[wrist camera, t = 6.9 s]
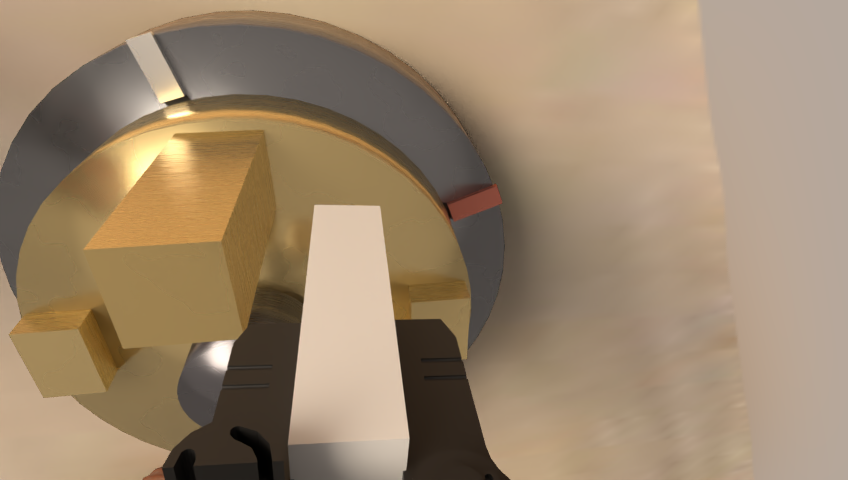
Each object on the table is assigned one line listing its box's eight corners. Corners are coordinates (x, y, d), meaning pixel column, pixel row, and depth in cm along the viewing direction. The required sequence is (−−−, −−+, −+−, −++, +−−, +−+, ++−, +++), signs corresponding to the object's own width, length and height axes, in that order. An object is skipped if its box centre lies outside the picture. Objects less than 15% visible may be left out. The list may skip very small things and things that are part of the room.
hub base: (531, 315, 28) (602, 465, 20) (207, 432, 29) (158, 613, 22) (401, -84, 18) (443, -84, 10) (-86, 127, 19) (-373, 266, 11)
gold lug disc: (452, 397, 25) (495, 590, 18) (126, 430, 24) (29, 656, 16) (466, 86, 17) (552, 206, 10) (-21, 102, 16) (-334, 260, 9)
